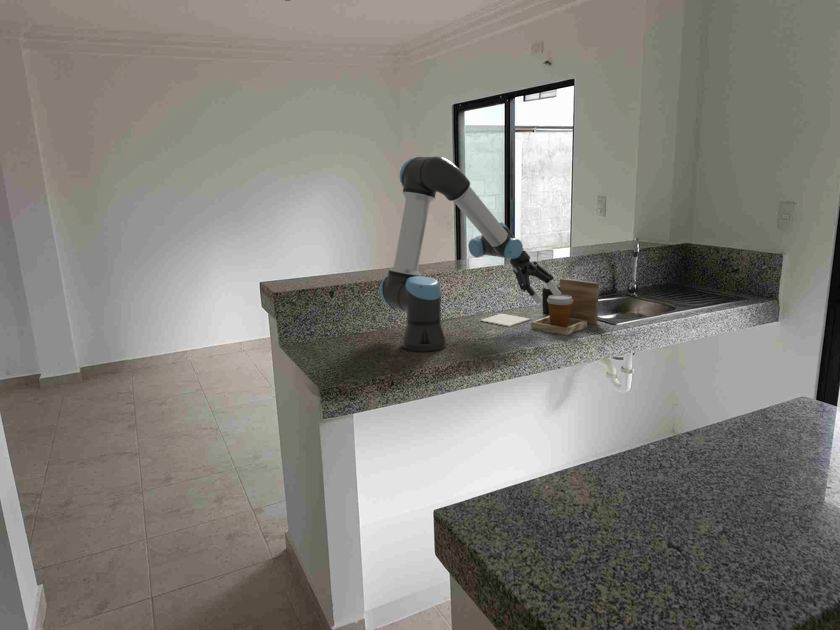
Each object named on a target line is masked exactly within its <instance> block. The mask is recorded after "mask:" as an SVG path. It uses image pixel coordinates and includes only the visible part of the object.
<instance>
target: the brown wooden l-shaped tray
mask: <svg viewBox="0 0 840 630" xmlns="http://www.w3.org/2000/svg"><path fill="white" fill-rule="evenodd" d="M559 287H560V292H561V294H560V295H568V296H571V297H572V300H573V302H572V304H571V310H570V316H569V322H568V327H566V328H565V327H559V326H554V325H550V317H549V315H548V316H545V317H543V318H540V319H537V320H534V321H531V324H530V326H531V327H530V329H532V330H536V331H541V330H543V331H542V332H546V331H548V332H547V333H552V332H553V333H552V334H557V333H558V335H562V334H563V335H562V336H568V335H571V334H573V333H576V332H578V331H581V330H584V329H585V327H586V328H588V324H589V323H591V325H597V324H598V311H599V310H598V309H599V293H600V292H599V291H600V283H599V282H593V281H587V280H586V281H585V280H577V279H569V278H560V279H559ZM548 323H549V324H548ZM596 323H597V324H596Z"/></svg>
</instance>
